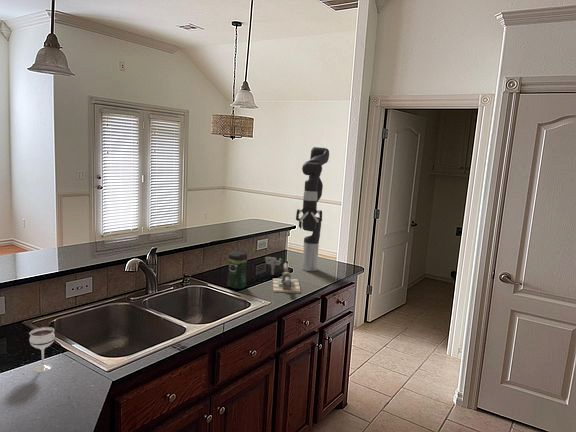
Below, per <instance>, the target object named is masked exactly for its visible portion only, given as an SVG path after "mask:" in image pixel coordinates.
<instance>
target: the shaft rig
mask: <svg viewBox="0 0 576 432" xmlns="http://www.w3.org/2000/svg"><path fill="white" fill-rule="evenodd" d="M283 272H289V264H288V262H285V263H283ZM283 272H282V273H281V278H272V292H273V293H293V294H297V293H298V294H301V288H300V284H299V279H298V278H297V279H295V278H289V277H286V278H285V281H283V283H282V279H283Z"/></svg>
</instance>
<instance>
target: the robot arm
mask: <svg viewBox="0 0 576 432" xmlns="http://www.w3.org/2000/svg"><path fill="white" fill-rule="evenodd" d="M329 158H330V151H329V149H328V148H327V147H317V146H314V147H312V148H311V150H310V159H309V160H307V161H305V162H304V163H303V165H302V168H301V169H302V174H304V175H305V176H308V179H307V180H305V182H304V191H303V197H302V198H303V199H302V209H299V208H297V209H296V216H295V221H298V227H299V229H302V230H304V231H306V232H312V234H311V235H308V236H305V237H304V239H303V250H302V264H301V266H302V267H301V270H303V271H306V272H317V270H318V260H319V259H318V257H319V244H320V238H321V231H322V230H321V229H322V221H323V211H322V210H321V209H319V210H318V209H317V208H318V205H317V204H318V202H319V201H320V199H321V198H322V196H323V195H322V194H323V186H324V185H323V181H322V180H321V178H320V177H321V174H322V171H323V166H324V165H325V164H327V163H328V162H329ZM301 213H302V215H301V217H300V214H301ZM317 213H318V215H319V216H316V215H317Z"/></svg>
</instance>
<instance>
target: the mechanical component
mask: <svg viewBox="0 0 576 432" xmlns="http://www.w3.org/2000/svg"><path fill="white" fill-rule="evenodd" d="M264 261H265V263H266V265H270V268H271V275H272V276H274V275H275V268H276V266H280V265H281V264H282V262H283V258H279V259H277V258H276V257H273V256H266V257H264Z"/></svg>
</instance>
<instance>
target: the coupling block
mask: <svg viewBox="0 0 576 432" xmlns="http://www.w3.org/2000/svg"><path fill="white" fill-rule="evenodd" d="M291 276H292V275H291V272H289V271H288V272H284V271H283V279H282V278H281V279H282V283H283V281H285V278H286V277H289V278H290V279H292V278H291Z"/></svg>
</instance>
